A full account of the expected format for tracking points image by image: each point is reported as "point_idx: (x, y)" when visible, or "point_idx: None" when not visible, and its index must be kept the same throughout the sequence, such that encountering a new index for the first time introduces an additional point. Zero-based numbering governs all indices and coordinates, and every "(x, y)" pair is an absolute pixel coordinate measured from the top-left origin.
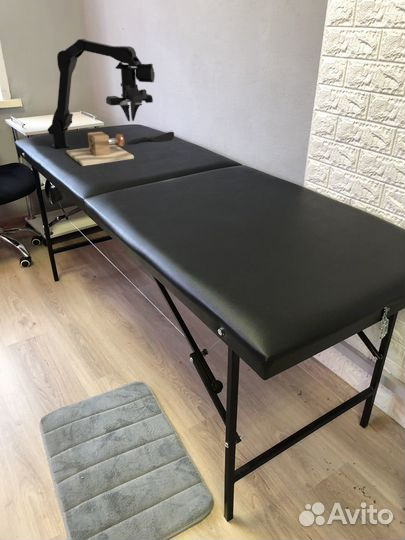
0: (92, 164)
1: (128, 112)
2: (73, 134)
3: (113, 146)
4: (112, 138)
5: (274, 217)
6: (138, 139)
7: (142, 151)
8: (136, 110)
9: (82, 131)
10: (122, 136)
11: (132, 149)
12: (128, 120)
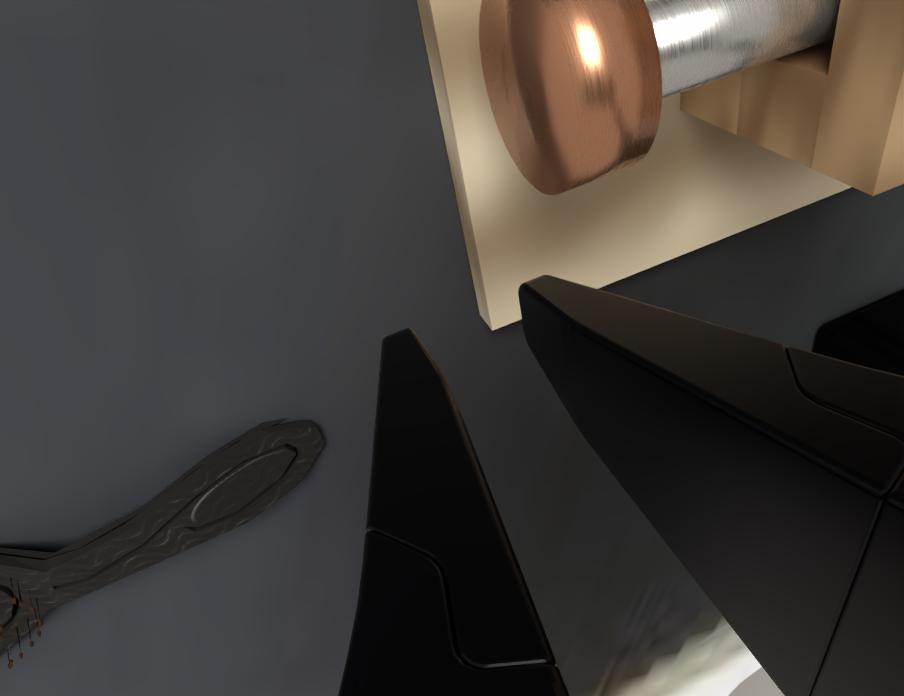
0: None
1: (770, 395)
2: (658, 615)
3: (525, 255)
4: (718, 38)
5: None
6: (184, 511)
7: (126, 71)
8: (381, 636)
9: (587, 678)
10: (577, 26)
11: (285, 209)
12: (563, 288)
